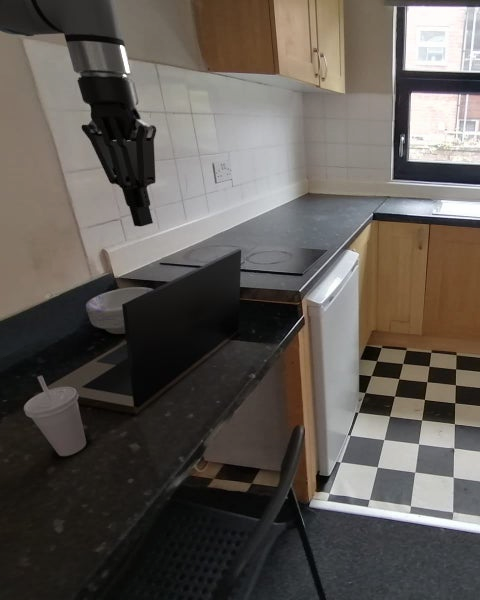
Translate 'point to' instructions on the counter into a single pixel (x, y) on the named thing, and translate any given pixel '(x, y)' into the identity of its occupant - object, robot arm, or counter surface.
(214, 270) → the laptop screen
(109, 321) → the paper bowls
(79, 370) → the laptop
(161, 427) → the counter surface
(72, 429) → the smoothie
